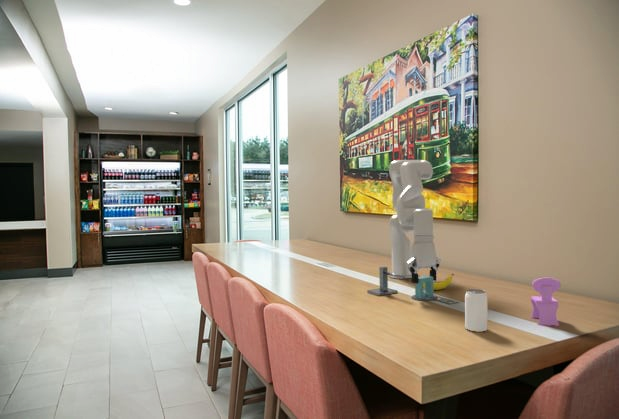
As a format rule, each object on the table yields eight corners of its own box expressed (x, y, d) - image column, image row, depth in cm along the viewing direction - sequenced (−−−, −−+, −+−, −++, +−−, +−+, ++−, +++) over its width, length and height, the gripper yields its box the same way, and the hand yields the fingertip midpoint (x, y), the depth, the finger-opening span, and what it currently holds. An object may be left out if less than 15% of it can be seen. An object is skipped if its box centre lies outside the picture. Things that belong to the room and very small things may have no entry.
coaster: (424, 294, 186) (424, 293, 186) (442, 298, 177) (442, 297, 177) (406, 297, 181) (406, 296, 181) (423, 302, 172) (423, 301, 172)
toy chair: (554, 318, 148) (554, 273, 147) (563, 326, 139) (563, 278, 139) (527, 317, 150) (527, 273, 149) (534, 324, 141) (534, 278, 140)
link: (428, 295, 182) (428, 275, 182) (433, 296, 180) (433, 276, 179) (415, 297, 179) (415, 277, 179) (420, 298, 176) (420, 278, 176)
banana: (415, 291, 191) (414, 277, 191) (451, 287, 198) (451, 273, 197) (419, 293, 188) (418, 278, 188) (455, 288, 195) (455, 274, 195)
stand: (385, 289, 196) (385, 264, 196) (413, 297, 180) (413, 270, 180) (367, 292, 191) (366, 266, 191) (394, 300, 176) (393, 272, 175)
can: (461, 326, 141) (461, 289, 140) (481, 325, 141) (481, 288, 141) (470, 333, 134) (470, 293, 134) (491, 332, 135) (491, 292, 134)
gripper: (432, 237, 186) (433, 277, 186) (400, 240, 177) (401, 282, 178) (446, 238, 179) (446, 280, 180) (413, 241, 171) (414, 285, 172)
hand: (424, 281), depth 179 cm, fingers open, 9 cm apart
